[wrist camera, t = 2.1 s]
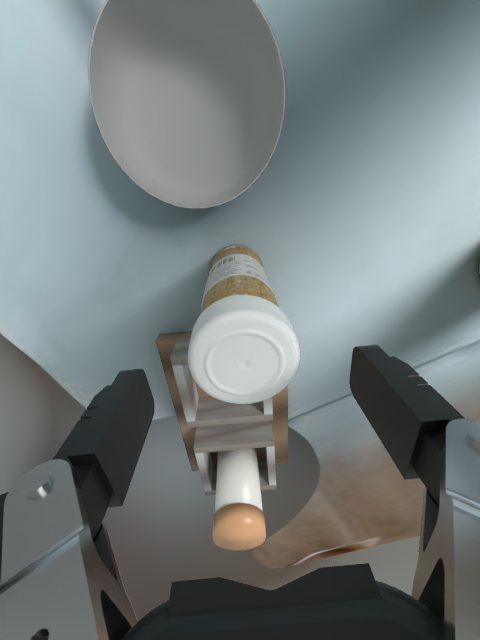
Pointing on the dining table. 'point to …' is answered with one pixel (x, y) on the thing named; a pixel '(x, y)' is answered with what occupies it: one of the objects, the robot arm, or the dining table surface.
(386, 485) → the dining table surface
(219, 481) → the white lotion bottle
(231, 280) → the sprinkles bottle
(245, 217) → the dining table surface
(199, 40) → the small pan
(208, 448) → the board
